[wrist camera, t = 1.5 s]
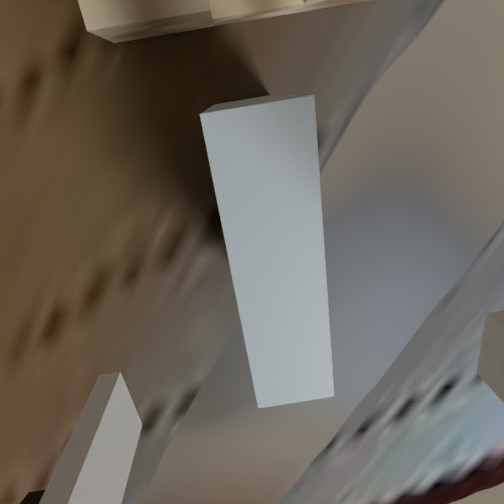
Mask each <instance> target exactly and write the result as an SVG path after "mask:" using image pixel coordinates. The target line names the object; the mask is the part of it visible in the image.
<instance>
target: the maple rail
mask: <svg viewBox="0 0 504 504" xmlns="http://www.w3.org/2000/svg"><path fill="white" fill-rule="evenodd" d="M363 1H369V0H78V3H79V6H80V9H81V13H82V16H83V19H84V23H85V26H86V29H87V31H88V32H90V33H93V34H95V35H97V36H99V37H101V38H104V39H106V40H108V41H110V42H113V43H118V42H124V41H130V40H136V39H142V38H148V37H154V36H160V35H166V34H172V33H178V32H184V31H190V30H196V29H202V28H208V27H213V26H219V25H225V24H231V23H237V22H243V21H249V20H255V19H261V18H267V17H273V16H279V15H285V14H291V13H297V12H303V11H309V10H315V9H321V8H327V7H333V6H339V5H345V4H351V3H357V2H363Z"/></svg>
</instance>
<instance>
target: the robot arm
mask: <svg viewBox="0 0 504 504" xmlns="http://www.w3.org/2000/svg"><path fill="white" fill-rule="evenodd" d="M477 373H478V374H479V375H480V377H481V378H482V379H483V380H484V381H485V382H486V383H487V384H488V386H489V387H490V388H491V389H492V390H493V391H494V392H495V393H496V395H497V396H498V397H499V398H500V399H501V400H502V401H503V402H504V311H500V312H494V313H487V314H486V319H485V325H484V331H483V337H482V343H481V349H480V355H479V362H478V368H477ZM141 428H142V423H141V420H140V418H139V416H138V413H137V411H136V408H135V406H134V404H133V401H132V399H131V396H130V394H129V392H128V389H127V387H126V384H125V382H124V379H123V377H122V375H121V372H116V373H110V374H104V375H99V377H98V379H97V381H96V383H95V385H94V388H93V390H92V392H91V394H90V396H89V398H88V400H87V402H86V405H85V407H84V409H83V411H82V413H81V415H80V417H79V420H78V422H77V424H76V426H75V428H74V430H73V432H72V434H71V437H70V439H69V441H68V443H67V445H66V447H65V449H64V452H63V454H62V456H61V458H60V460H59V462H58V464H57V466H56V469H55V471H54V473H53V475H52V477H51V479H50V481H49V483H48V486H47V488H46V490H40V491H34V492H29V493H28V494H27V495H26V497H25V498H24V499H23V500H22V501H21V503H20V504H121V502H122V499H123V495H124V491H125V488H126V484H127V480H128V476H129V473H130V469H131V465H132V461H133V458H134V454H135V450H136V447H137V443H138V439H139V435H140V432H141Z"/></svg>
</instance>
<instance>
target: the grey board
mask: <svg viewBox="0 0 504 504" xmlns="http://www.w3.org/2000/svg"><path fill="white" fill-rule="evenodd" d="M200 119H201V124H202V129H203V134H204V139H205V144H206V149H207V154H208V159H209V164H210V169H211V174H212V179H213V184H214V189H215V194H216V199H217V204H218V209H219V214H220V219H221V224H222V229H223V234H224V239H225V244H226V249H227V254H228V259H229V264H230V269H231V274H232V279H233V284H234V289H235V294H236V299H237V304H238V309H239V314H240V319H241V324H242V329H243V334H244V339H245V344H246V349H247V354H248V359H249V364H250V369H251V374H252V379H253V384H254V389H255V394H256V399H257V404H258V408H263V407H270V406H276V405H282V404H289V403H295V402H302V401H308V400H314V399H321V398H327V397H333V396H334V385H333V370H332V355H331V341H330V326H329V310H328V295H327V280H326V265H325V250H324V235H323V220H322V206H321V191H320V175H319V160H318V145H317V130H316V115H315V100H314V95H268V96H262V97H256V98H250V99H243V100H237V101H231V102H225V103H219V104H215V105H213V106H212V107H210V108H208V109H207V110H205V111H204V112H202V113H200Z"/></svg>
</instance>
